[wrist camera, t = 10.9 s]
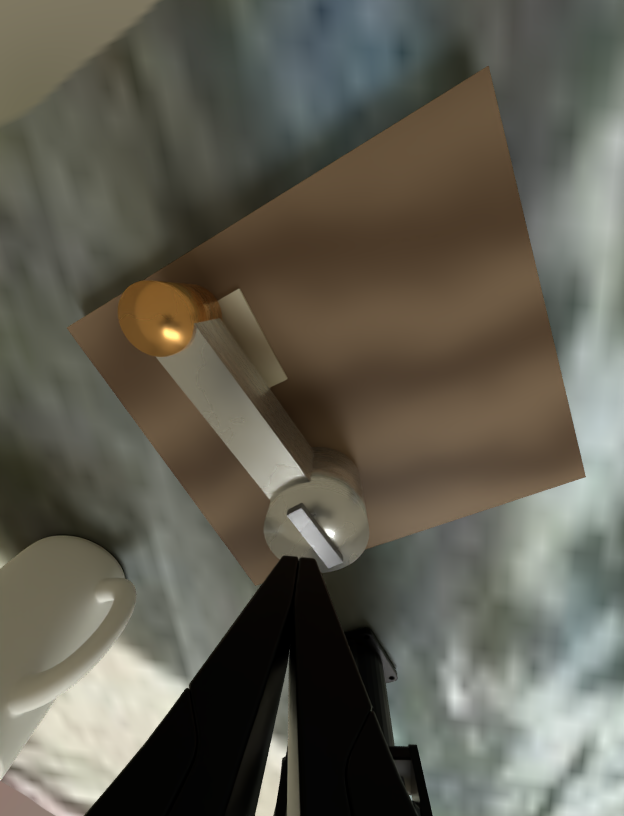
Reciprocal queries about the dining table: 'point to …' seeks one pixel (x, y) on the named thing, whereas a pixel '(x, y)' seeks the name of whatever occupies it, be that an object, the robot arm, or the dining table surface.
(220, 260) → the lock base
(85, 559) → the mug
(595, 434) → the dining table surface
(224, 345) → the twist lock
